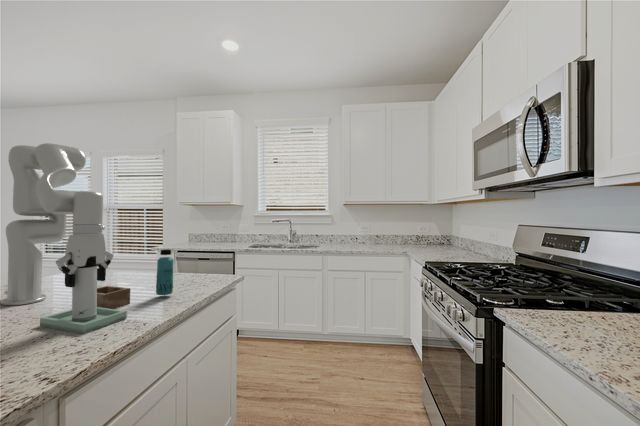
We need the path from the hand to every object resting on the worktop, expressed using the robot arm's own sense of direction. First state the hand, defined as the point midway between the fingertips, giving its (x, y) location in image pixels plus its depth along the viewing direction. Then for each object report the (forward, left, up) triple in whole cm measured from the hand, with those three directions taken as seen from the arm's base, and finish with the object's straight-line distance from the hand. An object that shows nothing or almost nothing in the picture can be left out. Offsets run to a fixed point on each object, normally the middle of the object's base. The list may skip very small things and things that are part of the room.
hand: (86, 283), depth 98 cm
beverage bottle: (0, +33, -12) cm, 35 cm away
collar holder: (-10, +15, -12) cm, 22 cm away
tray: (0, 0, -12) cm, 12 cm away
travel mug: (0, 0, -11) cm, 11 cm away
